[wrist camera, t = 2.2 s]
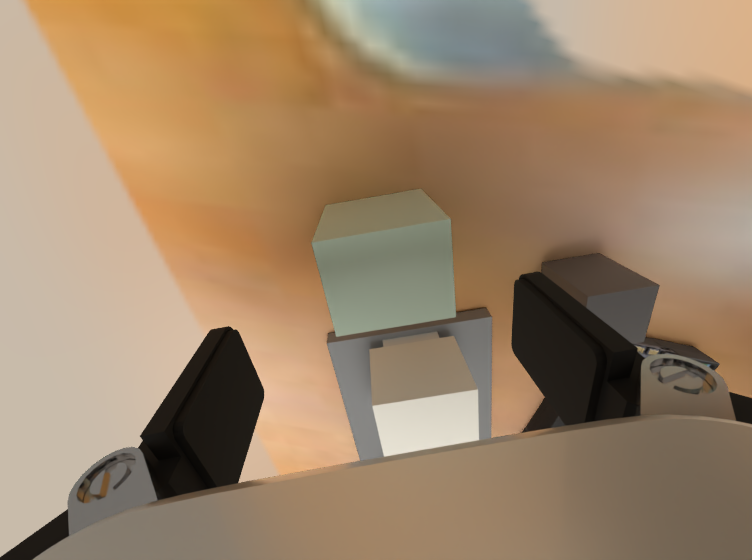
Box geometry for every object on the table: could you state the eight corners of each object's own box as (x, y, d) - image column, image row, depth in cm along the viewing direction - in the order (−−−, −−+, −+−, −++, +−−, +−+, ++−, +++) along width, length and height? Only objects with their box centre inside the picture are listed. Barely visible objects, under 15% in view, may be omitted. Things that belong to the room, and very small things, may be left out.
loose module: (420, 188, 20) (450, 218, 13) (427, 261, 22) (456, 317, 16) (325, 204, 20) (311, 242, 14) (342, 275, 22) (336, 336, 16)
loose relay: (598, 252, 22) (659, 285, 18) (590, 301, 24) (643, 342, 20) (541, 262, 22) (588, 296, 18) (537, 309, 24) (579, 352, 20)
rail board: (486, 307, 24) (531, 374, 17) (486, 459, 32) (518, 542, 25) (328, 333, 24) (318, 407, 18) (368, 477, 32) (370, 563, 26)
